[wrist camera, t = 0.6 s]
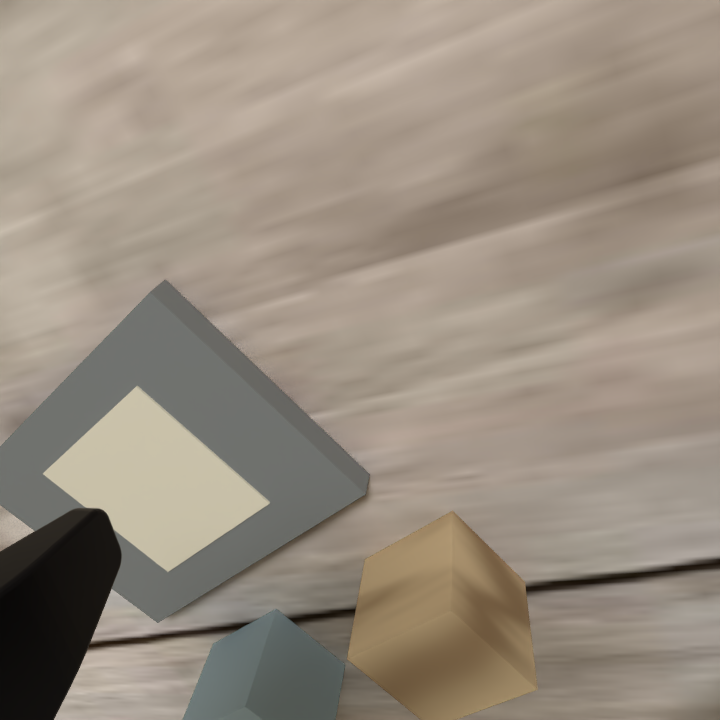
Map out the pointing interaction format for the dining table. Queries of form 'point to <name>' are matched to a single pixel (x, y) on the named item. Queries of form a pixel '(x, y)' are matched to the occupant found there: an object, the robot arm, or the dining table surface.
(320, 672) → the blue block
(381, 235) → the dining table surface
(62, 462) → the board
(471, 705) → the oak block
